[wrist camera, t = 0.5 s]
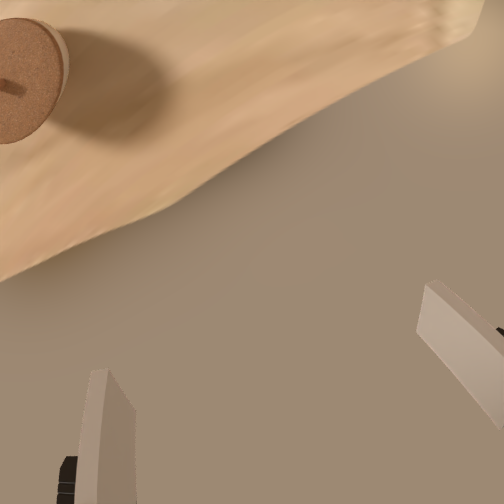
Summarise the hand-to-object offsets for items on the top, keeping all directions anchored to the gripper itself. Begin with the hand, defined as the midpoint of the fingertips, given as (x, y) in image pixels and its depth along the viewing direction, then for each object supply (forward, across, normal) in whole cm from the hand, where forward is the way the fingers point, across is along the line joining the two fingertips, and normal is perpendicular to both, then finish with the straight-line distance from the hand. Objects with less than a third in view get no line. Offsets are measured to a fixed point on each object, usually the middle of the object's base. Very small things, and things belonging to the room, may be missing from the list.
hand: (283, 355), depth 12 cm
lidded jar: (+23, -15, +18) cm, 33 cm away
